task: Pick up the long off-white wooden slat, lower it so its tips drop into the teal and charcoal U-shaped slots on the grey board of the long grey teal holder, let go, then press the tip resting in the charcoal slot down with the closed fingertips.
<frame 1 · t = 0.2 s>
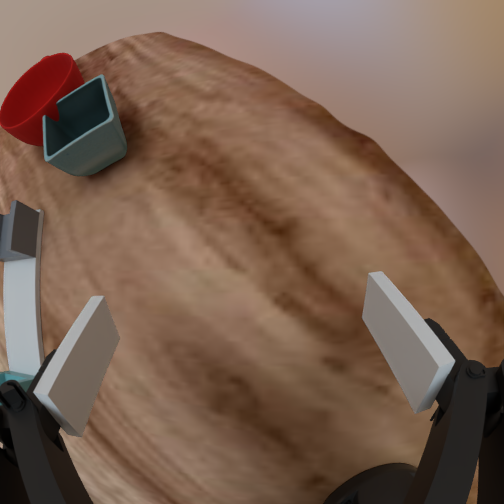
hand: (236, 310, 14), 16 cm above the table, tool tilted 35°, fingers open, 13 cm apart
ceramic cup: (66, 117, 35), on the table, touching flower pot
long grey teal holder: (23, 317, 29), on the table
flower pot: (105, 152, 33), on the table, touching ceramic cup
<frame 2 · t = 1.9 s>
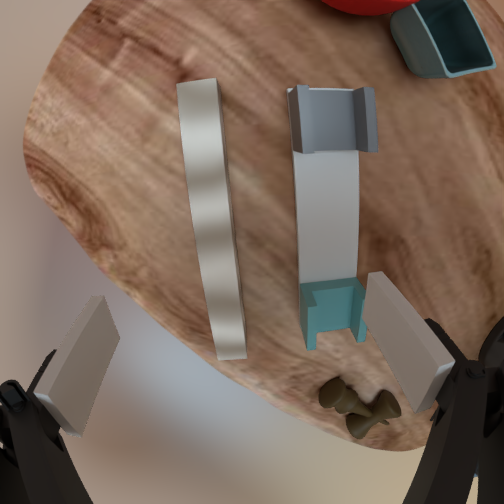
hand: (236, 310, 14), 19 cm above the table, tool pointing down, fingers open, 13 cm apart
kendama: (358, 398, 45), on the table
long grey teal holder: (326, 216, 32), on the table
flower pot: (413, 47, 24), on the table, touching ceramic cup
slat: (218, 225, 32), on the table
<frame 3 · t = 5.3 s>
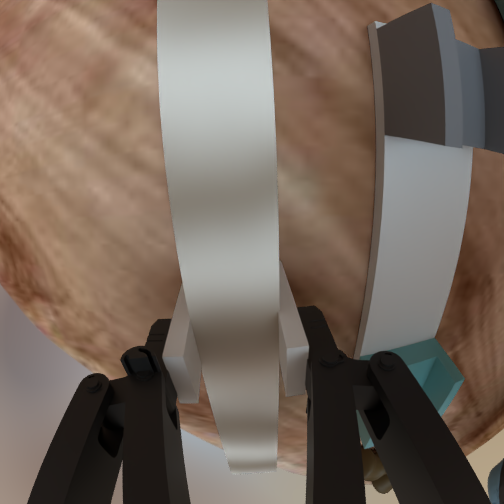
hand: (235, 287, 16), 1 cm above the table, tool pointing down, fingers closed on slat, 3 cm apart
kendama: (386, 453, 32), on the table
long grey teal holder: (414, 253, 17), on the table
slat: (235, 281, 16), point 1 cm above the table, touching gripper
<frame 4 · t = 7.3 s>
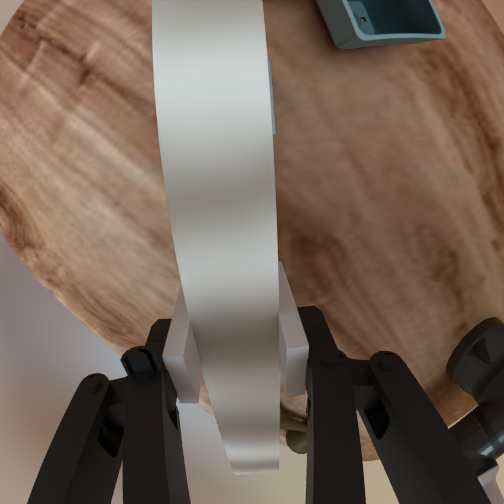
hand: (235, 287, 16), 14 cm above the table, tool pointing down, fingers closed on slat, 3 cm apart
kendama: (295, 412, 43), on the table
flower pot: (347, 21, 21), on the table, touching ceramic cup
slat: (235, 280, 16), point 13 cm above the table, touching gripper
when the fingers open (4 cm above the table, at t = 8.9 s): slat stays where it is, resting on long grey teal holder.
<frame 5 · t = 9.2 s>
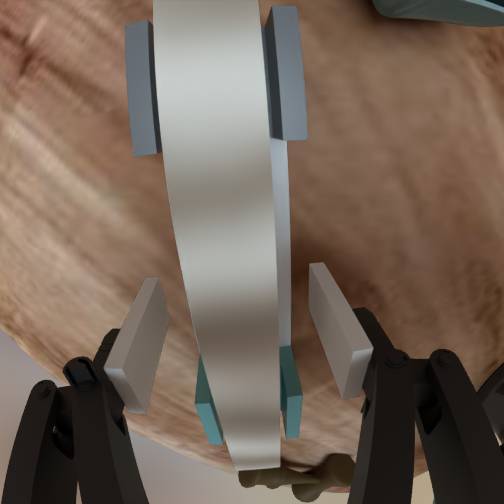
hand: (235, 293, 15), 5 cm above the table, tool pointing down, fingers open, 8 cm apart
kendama: (302, 462, 34), on the table
long grey teal holder: (235, 255, 19), on the table
slat: (235, 276, 17), point 3 cm above the table, touching long grey teal holder
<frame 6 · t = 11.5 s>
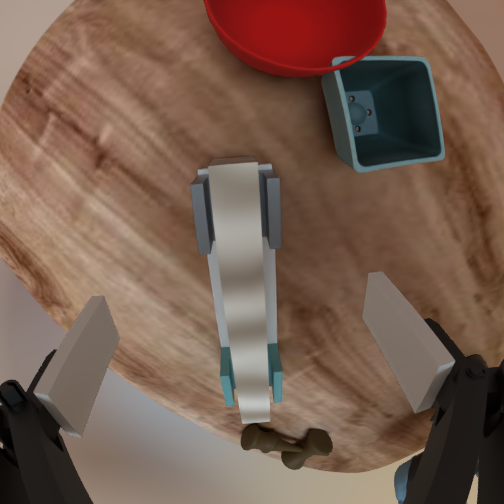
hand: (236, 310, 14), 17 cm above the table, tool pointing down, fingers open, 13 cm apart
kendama: (289, 435, 48), on the table
ceramic cup: (276, 16, 22), on the table, touching flower pot
long grey teal holder: (244, 290, 33), on the table
flower pot: (352, 113, 26), on the table, touching ceramic cup
slat: (245, 305, 30), point 3 cm above the table, touching long grey teal holder
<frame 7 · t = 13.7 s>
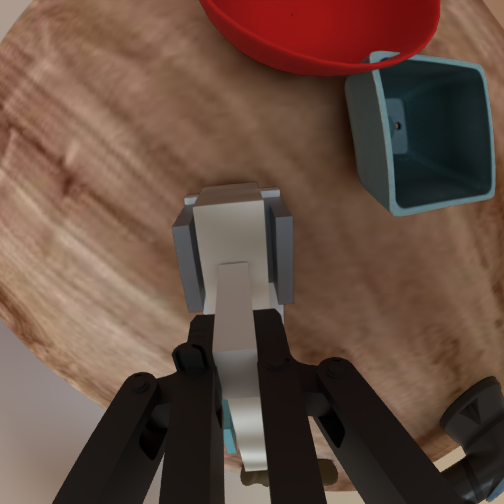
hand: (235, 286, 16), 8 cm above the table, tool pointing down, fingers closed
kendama: (292, 465, 42), on the table
long grey teal holder: (246, 336, 28), on the table
flower pot: (377, 125, 20), on the table, touching ceramic cup
slat: (247, 356, 25), point 3 cm above the table, touching long grey teal holder, gripper
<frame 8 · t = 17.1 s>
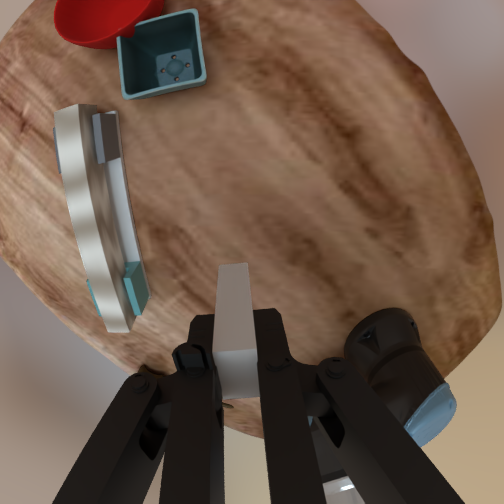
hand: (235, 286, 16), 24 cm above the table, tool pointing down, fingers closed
ceramic cup: (130, 8, 26), on the table, touching flower pot
long grey teal holder: (110, 212, 38), on the table
flower pot: (175, 68, 31), on the table, touching ceramic cup
slat: (101, 218, 35), point 3 cm above the table, touching long grey teal holder
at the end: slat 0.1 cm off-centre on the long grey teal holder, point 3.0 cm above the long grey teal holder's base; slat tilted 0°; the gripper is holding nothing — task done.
